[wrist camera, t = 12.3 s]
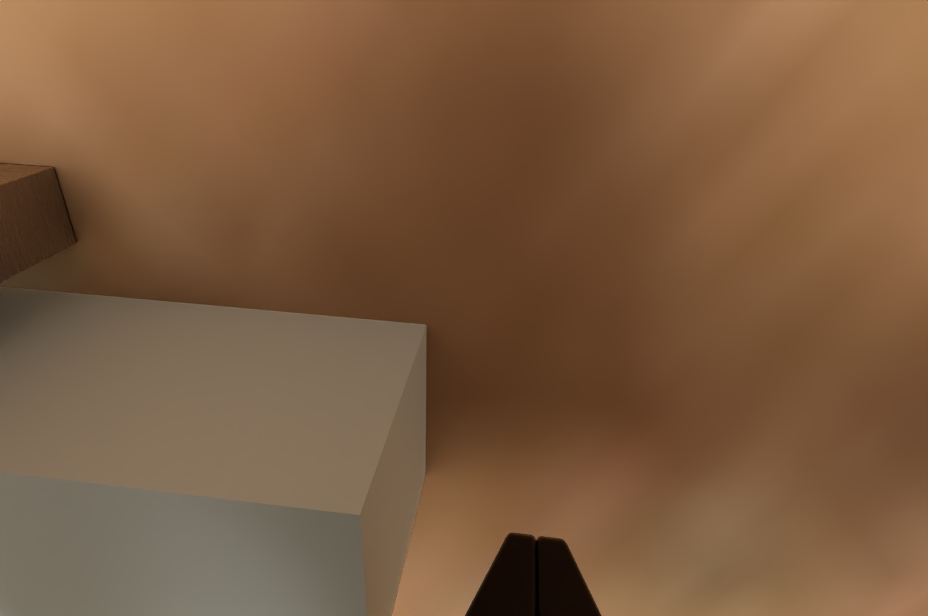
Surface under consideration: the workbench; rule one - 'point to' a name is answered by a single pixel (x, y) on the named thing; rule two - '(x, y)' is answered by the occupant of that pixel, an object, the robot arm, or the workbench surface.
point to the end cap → (30, 218)
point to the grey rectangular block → (204, 458)
